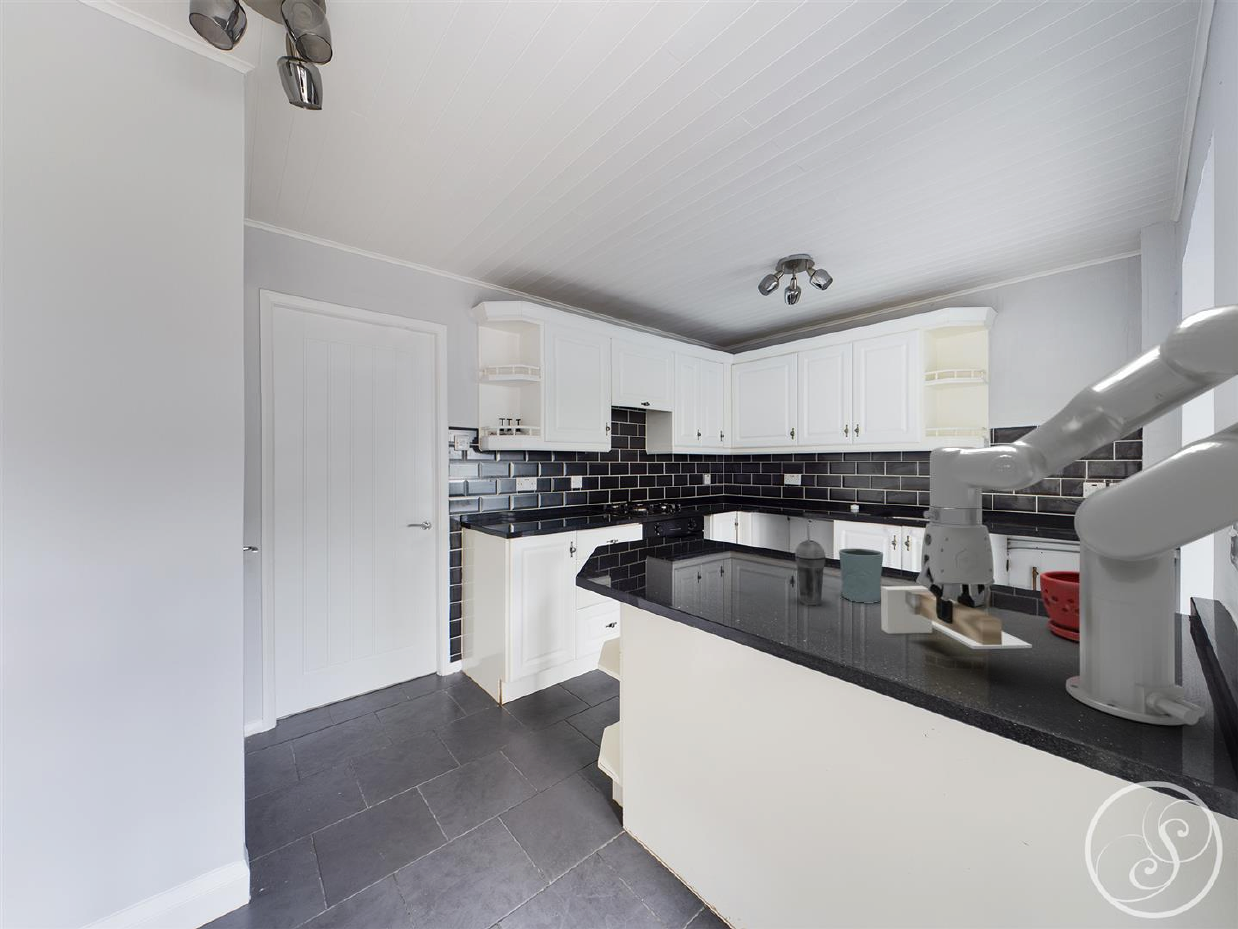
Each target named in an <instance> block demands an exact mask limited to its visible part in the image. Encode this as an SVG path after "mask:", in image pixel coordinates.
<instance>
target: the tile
mask: <svg viewBox="0 0 1238 929" xmlns="http://www.w3.org/2000/svg"><path fill="white" fill-rule="evenodd" d="M880 587H881V597H880V602H881V603H880V604H881V605H880V609H881V611H880V613H881V614H880V616H881V617H880V618H881V630H882V631H884V632H885V633H887V634H889V635H890V634H926V633H927V634H932V633H933V627H932V620H930V619H928V618H926V617H924V616H922V615H914V614H912V613H910V612H908V611H906V610H905V590H928V589H927V588H926V587H924V586H922V585H909V586H908V585H902V586H880Z"/></svg>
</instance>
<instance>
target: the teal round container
mask: <svg viewBox="0 0 1238 929" xmlns="http://www.w3.org/2000/svg"><path fill="white" fill-rule="evenodd" d="M838 555H839V564H840V575H841V589H842V597H843V596H844V597H845V598H847V599H849V600H852V601H859V602H876V601H879V602H881V587H882V586H881V582H882V572H883V559H884V553H883V552H882V551H880V550H874V549H868V548H867V549H866V548H853V547H852V548H842V549H840V550H838ZM852 601H851V602H852Z"/></svg>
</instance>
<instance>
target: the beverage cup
mask: <svg viewBox="0 0 1238 929" xmlns="http://www.w3.org/2000/svg"><path fill="white" fill-rule="evenodd" d="M806 532H807V533H806V535H807V539H806V540H803V541H802V542H800V543H799V544H798V545H797V547H796V549H795V551H794V552H795V553H794V557H795V563H796V567H797V568H796V569H797V578H798V589H799V595H800V602H802V603H804V604H803V605H805V604H808V605H807V606H811V605H816V606H819V605H818V604H820V603H821V601H822V596H823V595H822V593H823V592H822V591H823V581H824V567H825V563H826V559H827V557H826V553H825V550H824V548H823V547H822V545H821V544H820V543H819V542H817V541H815V540H812V539H810V537H811V536H810V524H809V522H807V523H806ZM802 603H801V604H802ZM820 605H821V604H820Z"/></svg>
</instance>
